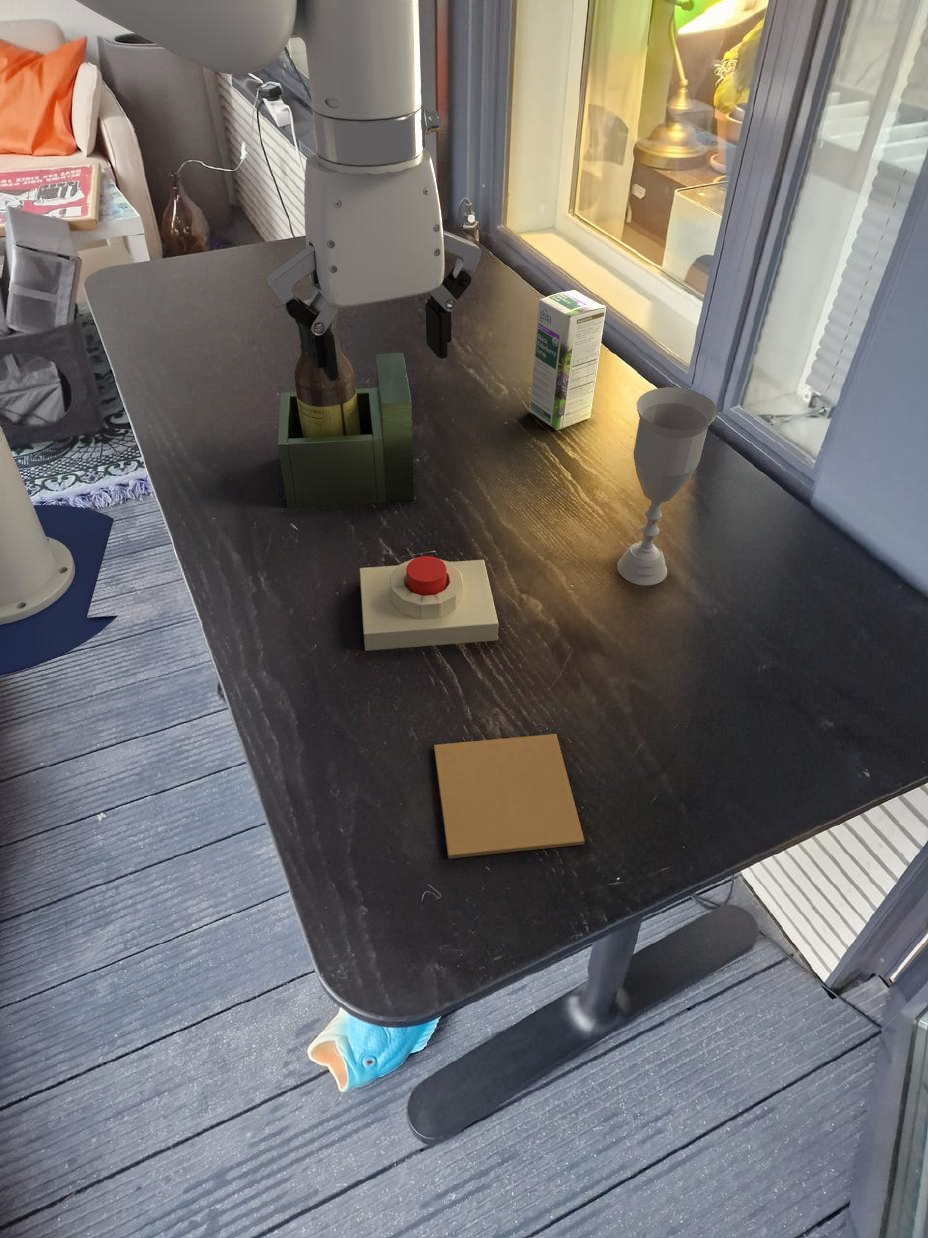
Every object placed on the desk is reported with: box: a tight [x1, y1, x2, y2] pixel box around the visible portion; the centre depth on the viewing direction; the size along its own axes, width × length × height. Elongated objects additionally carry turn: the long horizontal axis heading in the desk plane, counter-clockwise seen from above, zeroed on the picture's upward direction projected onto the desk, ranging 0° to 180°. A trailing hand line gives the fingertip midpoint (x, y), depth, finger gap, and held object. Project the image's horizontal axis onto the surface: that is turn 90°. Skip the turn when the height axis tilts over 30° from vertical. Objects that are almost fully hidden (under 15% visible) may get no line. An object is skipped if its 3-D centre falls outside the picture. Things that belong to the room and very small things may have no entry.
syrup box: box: [528, 289, 607, 431], centre depth 101 cm, size 6×6×14 cm
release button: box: [406, 555, 446, 596], centre depth 77 cm, size 4×4×2 cm
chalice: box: [616, 386, 718, 586], centre depth 79 cm, size 7×7×18 cm
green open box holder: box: [277, 352, 415, 509], centre depth 91 cm, size 14×11×12 cm
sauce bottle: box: [293, 298, 361, 438], centre depth 89 cm, size 6×6×20 cm
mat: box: [433, 733, 585, 859], centre depth 65 cm, size 10×10×1 cm
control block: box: [359, 557, 499, 651], centre depth 78 cm, size 12×9×4 cm
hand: (384, 362), depth 72 cm, fingers open, 9 cm apart
